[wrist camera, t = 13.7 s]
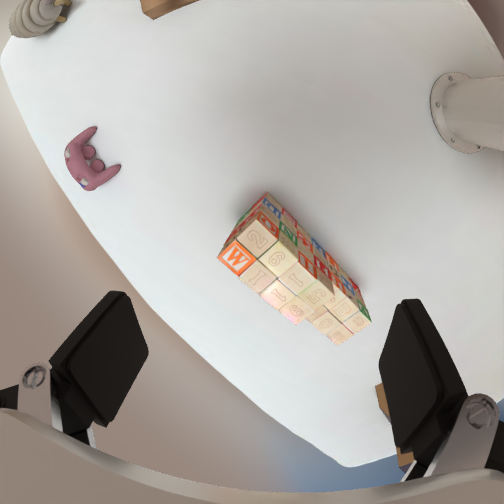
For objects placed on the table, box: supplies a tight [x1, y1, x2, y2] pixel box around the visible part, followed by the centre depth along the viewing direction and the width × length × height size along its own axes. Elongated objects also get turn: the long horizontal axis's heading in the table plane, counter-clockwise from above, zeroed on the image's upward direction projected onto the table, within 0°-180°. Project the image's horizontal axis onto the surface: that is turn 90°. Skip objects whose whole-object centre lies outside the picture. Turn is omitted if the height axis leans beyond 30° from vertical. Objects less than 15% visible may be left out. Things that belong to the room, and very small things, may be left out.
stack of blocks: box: [217, 192, 371, 345], centre depth 35 cm, size 21×6×12 cm, turn 47°
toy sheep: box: [9, 0, 71, 38], centre depth 20 cm, size 11×17×11 cm, turn 88°
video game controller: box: [64, 127, 120, 191], centre depth 36 cm, size 10×5×7 cm, turn 33°
